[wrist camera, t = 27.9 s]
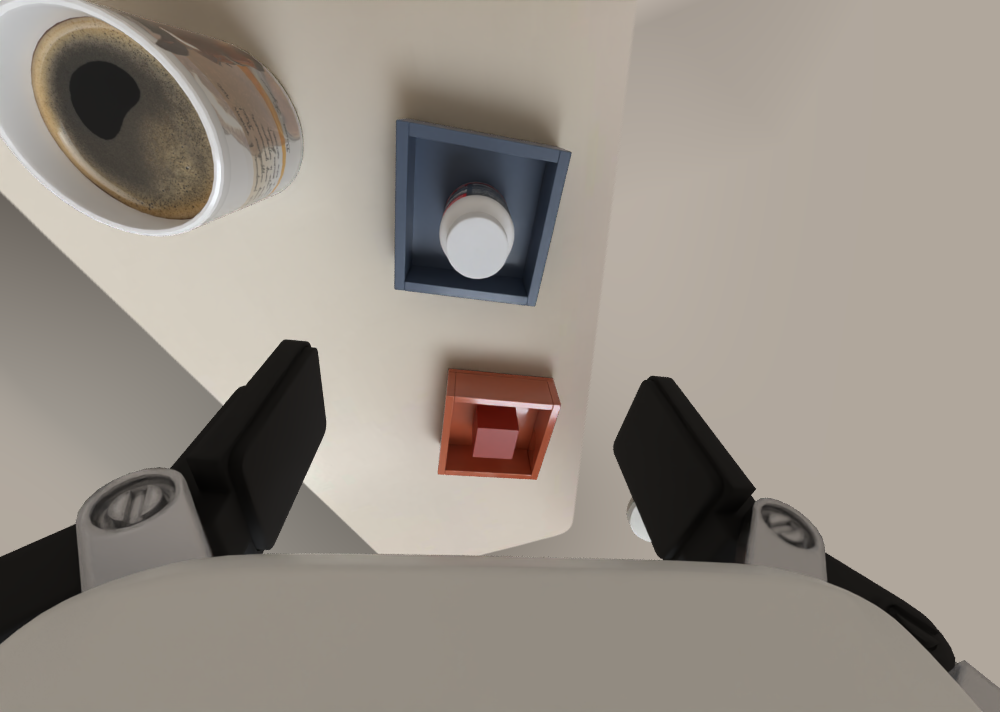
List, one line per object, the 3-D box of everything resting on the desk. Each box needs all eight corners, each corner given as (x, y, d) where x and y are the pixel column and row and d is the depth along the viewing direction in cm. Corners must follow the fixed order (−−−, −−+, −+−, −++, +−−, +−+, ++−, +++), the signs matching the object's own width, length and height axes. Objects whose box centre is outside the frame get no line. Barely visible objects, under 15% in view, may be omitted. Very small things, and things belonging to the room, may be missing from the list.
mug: (230, 225, 30) (125, 274, 21) (78, 57, 24) (-165, 23, 15) (332, 158, 28) (265, 181, 19) (194, -44, 22) (-4, -156, 13)
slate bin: (558, 146, 29) (571, 152, 25) (528, 285, 35) (535, 306, 31) (406, 118, 27) (395, 119, 23) (403, 269, 33) (394, 289, 30)
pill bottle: (460, 168, 29) (456, 187, 21) (519, 200, 30) (534, 229, 23) (434, 230, 31) (422, 267, 24) (490, 257, 33) (495, 300, 25)
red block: (515, 403, 42) (519, 430, 38) (508, 430, 44) (511, 459, 41) (476, 399, 41) (477, 427, 38) (472, 428, 44) (472, 457, 40)
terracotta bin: (552, 378, 41) (561, 405, 37) (531, 450, 47) (536, 479, 44) (448, 368, 40) (446, 395, 36) (440, 444, 46) (437, 474, 42)
